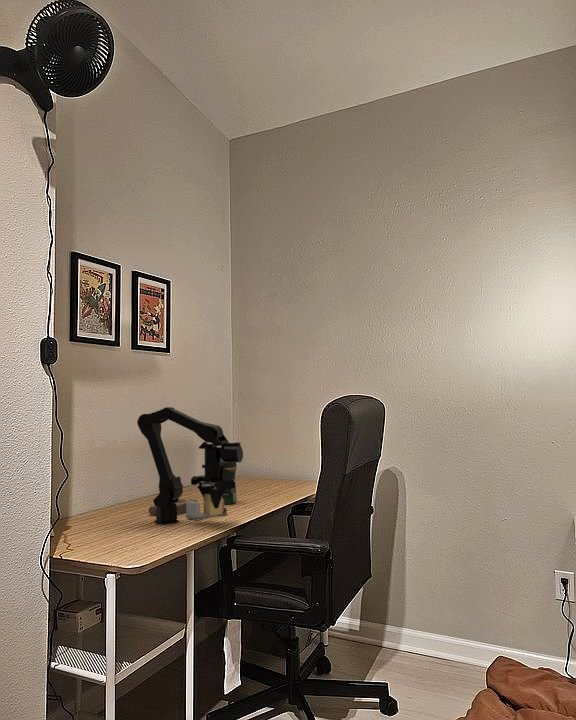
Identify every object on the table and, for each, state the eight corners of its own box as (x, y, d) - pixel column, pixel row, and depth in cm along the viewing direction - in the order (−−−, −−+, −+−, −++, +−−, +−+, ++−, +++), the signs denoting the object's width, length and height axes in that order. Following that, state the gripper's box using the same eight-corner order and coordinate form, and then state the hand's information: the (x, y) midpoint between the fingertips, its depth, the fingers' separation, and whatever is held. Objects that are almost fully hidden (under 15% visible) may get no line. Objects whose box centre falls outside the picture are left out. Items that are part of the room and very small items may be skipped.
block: (210, 515, 205) (210, 494, 205) (203, 514, 208) (203, 493, 208) (222, 513, 208) (222, 493, 209) (215, 512, 211) (215, 491, 212)
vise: (195, 520, 215) (195, 503, 216) (186, 518, 220) (186, 501, 220) (226, 514, 225) (226, 498, 225) (217, 512, 229) (217, 496, 230)
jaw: (220, 512, 223) (219, 500, 223) (211, 510, 227) (211, 498, 227) (224, 511, 224) (224, 499, 225) (215, 509, 228) (215, 497, 229)
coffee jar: (209, 504, 249) (209, 458, 250) (219, 500, 256) (219, 456, 257) (230, 505, 245) (230, 459, 246) (239, 502, 252) (239, 457, 253)
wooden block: (197, 508, 238) (172, 517, 221) (173, 507, 241) (147, 515, 225) (197, 499, 238) (172, 507, 221) (173, 498, 242) (147, 505, 225)
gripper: (247, 461, 208) (248, 507, 207) (215, 458, 221) (215, 501, 220) (221, 464, 200) (222, 512, 199) (190, 460, 214) (190, 505, 213)
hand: (212, 507), depth 208 cm, fingers closed on block, 4 cm apart
